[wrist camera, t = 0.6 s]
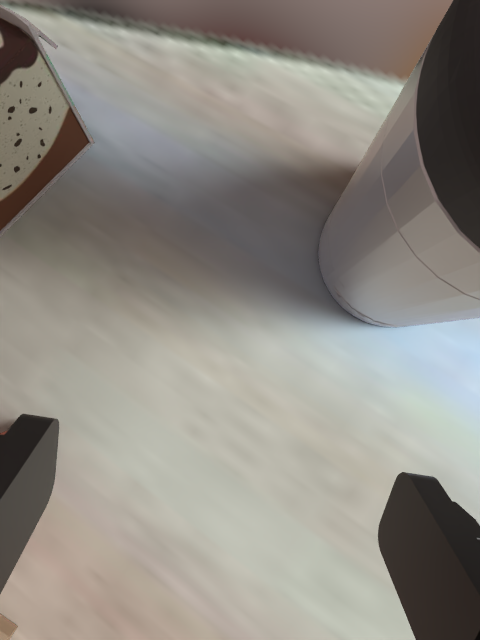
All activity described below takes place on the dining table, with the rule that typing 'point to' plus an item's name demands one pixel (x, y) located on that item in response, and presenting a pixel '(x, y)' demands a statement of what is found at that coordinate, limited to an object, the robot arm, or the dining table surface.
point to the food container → (32, 119)
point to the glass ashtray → (6, 628)
